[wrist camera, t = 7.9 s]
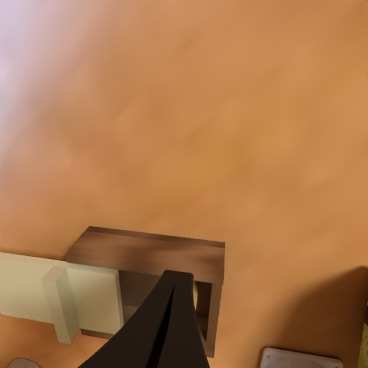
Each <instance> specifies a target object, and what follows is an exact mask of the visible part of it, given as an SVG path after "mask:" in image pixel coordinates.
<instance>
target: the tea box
mask: <svg viewBox="0 0 368 368" xmlns="http://www.w3.org/2000/svg"><path fill="white" fill-rule="evenodd" d="M357 368H368V303H367V309H366V313H365V322H364V328H363V334H362V340H361V347H360V353H359V360H358V367H357Z"/></svg>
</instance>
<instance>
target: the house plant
mask: <svg viewBox="0 0 368 368" xmlns="http://www.w3.org/2000/svg"><path fill="white" fill-rule="evenodd" d="M7 368H40V367H39V366H38V365H37V364H36V363H34V362H32V361H30V360H27V359H22V358H18V359H15V360H13V361H12V362H11V363H10V365H9V366H8V367H7Z"/></svg>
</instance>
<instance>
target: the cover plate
mask: <svg viewBox="0 0 368 368" xmlns="http://www.w3.org/2000/svg"><path fill="white" fill-rule="evenodd" d="M0 312H1V315H6V316H12V317H18V318H23V319H29V320H35V321H40V322H46V323H52V324H54V327H55V331H56V335H57V338H58V342H60V343H65V344H71V343H72V342H73V340H74V338H75V336H76V334H77V333H78V331H79V329H86V330H92V331H98V332H103V333H109V334H116V333H117V332H118V331H119V330H120V329H121V328H122V326H123V325H124V321H123V311H122V302H121V292H120V283H119V273H118V270H116V269H109V268H102V267H95V266H88V265H81V264H74V263H67V262H66V261H59V260H52V259H45V258H38V257H31V256H24V255H17V254H10V253H2V252H0Z"/></svg>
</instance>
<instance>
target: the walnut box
mask: <svg viewBox="0 0 368 368" xmlns="http://www.w3.org/2000/svg"><path fill="white" fill-rule="evenodd" d="M224 254H225V242H216V241H208V240H200V239H191V238H183V237H175V236H167V235H158V234H150V233H142V232H133V231H125V230H117V229H109V228H100V227H92V226H89V227H88V228H87V230H86V231H85V232H84V233H83V234H82V236H81V237H80V238H79V239H78V240H77V241H76V243H75V244H74V245H73V246H72V247H71V249H70V250H69V251H68V252H67V253H66V254H65V257H66V262H67V263H74V264H81V265H88V266H95V267H102V268H109V269H116V270H118V273H119V283H120V292H121V302H122V311H123V321H124V324H125V323H126V322H127V321H128V320H129V319H130V318H131V316H132V315H133V314H134V313H135V312H136V310H137V309H138V308H139V307H140V306H141V304H142V303H143V302H144V300H145V299H146V298H147V296H148V295H149V294H150V292H151V291H152V290H153V288H154V287H155V285H156V284H157V282H158V281H159V279H160V277H161V276H162V274H163V272H164V271H165V270H173V271H181V272H188V273H192V274H193V275H194V280H193V297H194V305H195V311H196V317H197V322H198V327H199V331H200V336H201V340H202V343H203V347H204V350H205V354H206V357H211V358H214V350H215V339H216V331H217V322H218V314H219V306H220V298H221V290H222V285H223V280H224ZM81 333H82V335H88V336H93V337H99V338H104V339H111V338H112V337H113V336H114V335H115V334H109V333H103V332H98V331H92V330H86V329H81Z"/></svg>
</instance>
